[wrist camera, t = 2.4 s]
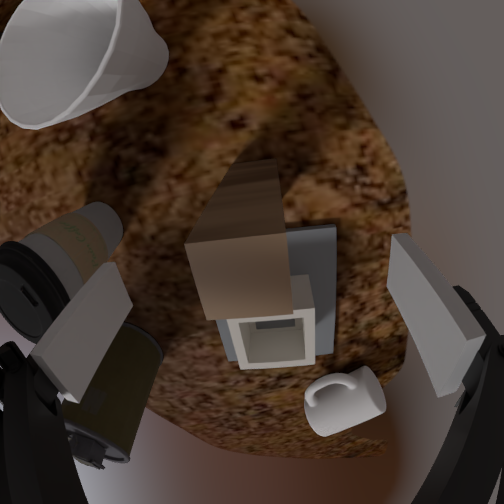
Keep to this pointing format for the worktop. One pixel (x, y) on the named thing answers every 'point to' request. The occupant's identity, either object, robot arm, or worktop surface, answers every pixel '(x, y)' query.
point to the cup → (75, 58)
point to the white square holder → (278, 333)
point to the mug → (343, 400)
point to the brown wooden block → (242, 246)
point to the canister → (113, 399)
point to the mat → (321, 280)
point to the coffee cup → (54, 266)
